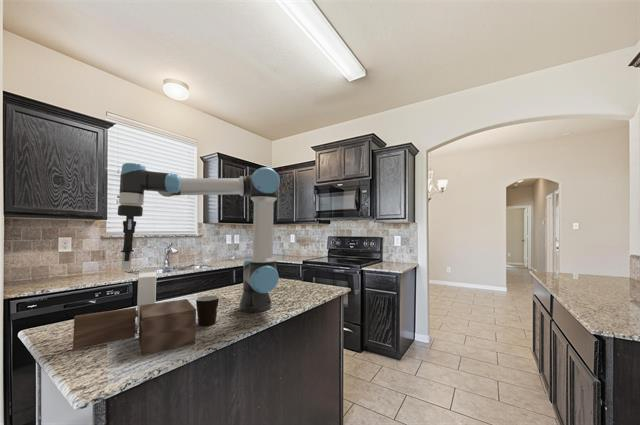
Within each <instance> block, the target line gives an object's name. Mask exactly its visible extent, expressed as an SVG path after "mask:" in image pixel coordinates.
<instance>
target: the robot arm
mask: <svg viewBox="0 0 640 425" xmlns="http://www.w3.org/2000/svg"><path fill="white" fill-rule="evenodd" d="M119 177H120V179H119V180H120V183H119V194H117V196H116V198H117V199H118V204H119V205H118V206H117V216H121V217H126V218H125V220H123V221H122V226H123V230H122V232H123V233H124V237H123V238H124V239H123V247H122V250H120V253H122V257H121V267H120V268H121V269H120V271H123V272H124V271H131V270H132V269H131V268H132V254H133V252H134V251H135V250H134V249H133V241H134V233H136V226H137V221H135V220H134V219H135V217H142V216H143V214H144V213H143V208H144V207H143V206H144V199H145V197H144V196H145V192H157V193H158V194H159V195H161V196H162V197H168V198H169V197H173V196H174V197H175V196H176V197H177V196H209V195H211V196H212V195H213V196H214V195H215V196H216V195H217V196H218V195H223V196H224V195H239V196H241V197H250V200H251V201H252V202H253V225H252V226H253V232H252V233H253V235H252V236H253V237H252V245H253V246H252V257H251V258H250V259H245V260H244V261H243V266H242V267H243V271H242V272H243V273H242V274H243V278H242V279H243V281H242V282H243V283H242V284H243V287H242V289H243V290H242V295H241V298H240V301H239V305H238V309H239V311H240V312H244V313H261V312H265V311H269V310H270V309H271V308H272V300H271V296H270V292H272V291H273V290H274V289H275V288H276V287H277V286H278V284H279V280H280V277H279V272H278V270H277V259H276V258H275V257H274V203H275V201H277V199H278V189H279V187H280V184H281V178H280V176H279V173H277V171H275V169H273V168H271V167H267V166H266V167H264V166H263V167H260V168H257V169H256V170H255V171H254V172H253V173H252V174H249V175H244V176H243V175H240V176H238V177H237V178H236V177H233V178H232V177H230V178H228V177H227V178H226V177H224V178H222V177H219V178H218V177H217V178H216V177H215V178H211V177H209V178H208V177H206V178H205V177H204V178H202V177H201V178H200V177H199V178H197V177H196V178H195V177H194V178H193V177H191V178H190V177H189V178H188V177H187V178H186V177H185V178H184V177H183V178H181V175H180V174H178V173H172V172H160V171H150V170H147V168H146V166H145V165H144V164H141V163H135V162H126V163H123V164H122V165H121V172H120V175H119Z"/></svg>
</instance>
